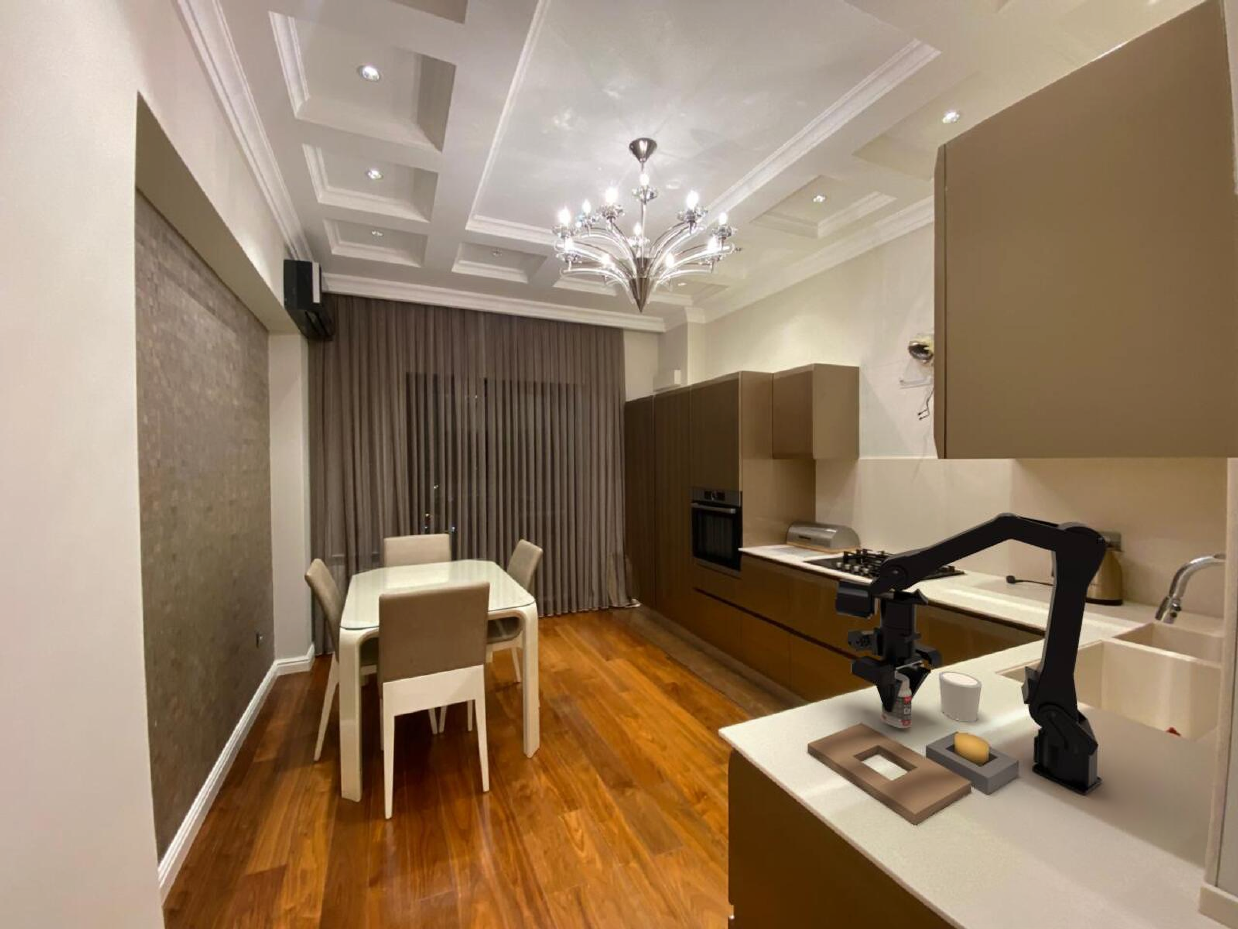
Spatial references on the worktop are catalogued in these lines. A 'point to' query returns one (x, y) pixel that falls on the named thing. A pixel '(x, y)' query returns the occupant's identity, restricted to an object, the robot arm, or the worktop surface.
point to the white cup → (959, 695)
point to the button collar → (974, 765)
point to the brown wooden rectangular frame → (905, 795)
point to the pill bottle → (900, 706)
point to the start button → (972, 748)
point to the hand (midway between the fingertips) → (896, 708)
